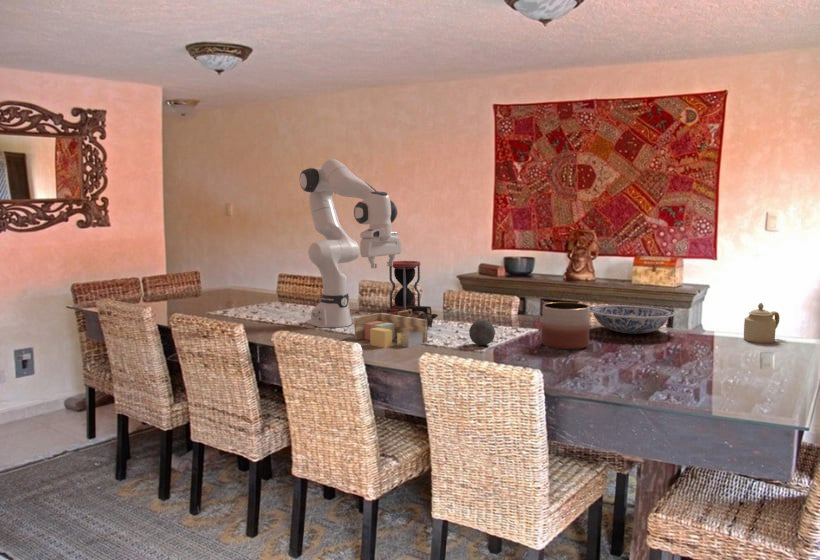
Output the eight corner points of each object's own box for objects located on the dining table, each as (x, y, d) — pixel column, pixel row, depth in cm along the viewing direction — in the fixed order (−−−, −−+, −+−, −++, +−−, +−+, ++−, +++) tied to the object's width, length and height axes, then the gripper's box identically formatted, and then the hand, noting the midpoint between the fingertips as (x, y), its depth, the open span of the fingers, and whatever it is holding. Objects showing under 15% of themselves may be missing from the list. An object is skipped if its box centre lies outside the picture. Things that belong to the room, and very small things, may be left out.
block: (397, 345, 259) (397, 333, 258) (411, 342, 265) (411, 329, 264) (408, 347, 255) (408, 335, 254) (422, 344, 261) (422, 331, 260)
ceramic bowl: (686, 331, 279) (687, 308, 278) (652, 345, 254) (653, 319, 253) (610, 322, 303) (611, 300, 301) (572, 333, 278) (573, 310, 276)
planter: (562, 352, 244) (563, 310, 242) (532, 343, 259) (532, 304, 258) (598, 347, 252) (599, 306, 250) (567, 339, 268) (568, 300, 266)
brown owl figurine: (409, 305, 301) (449, 305, 282) (410, 329, 301) (451, 330, 283) (385, 308, 290) (425, 308, 272) (386, 332, 291) (426, 334, 273)
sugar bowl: (749, 334, 273) (751, 298, 271) (779, 337, 266) (781, 301, 264) (740, 340, 261) (742, 303, 259) (771, 344, 254) (774, 305, 252)
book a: (364, 339, 271) (364, 323, 270) (378, 335, 277) (378, 320, 276) (371, 340, 269) (371, 324, 268) (385, 337, 274) (384, 321, 274)
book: (385, 348, 254) (384, 331, 254) (370, 345, 260) (370, 328, 259) (392, 346, 257) (392, 329, 257) (377, 343, 263) (377, 327, 262)
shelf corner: (354, 339, 270) (354, 317, 269) (380, 333, 281) (380, 312, 280) (401, 348, 253) (401, 325, 251) (427, 342, 264) (427, 319, 263)
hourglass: (420, 313, 330) (420, 263, 327) (388, 313, 330) (387, 263, 327) (420, 307, 346) (420, 260, 343) (390, 308, 346) (389, 260, 343)
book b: (374, 340, 268) (373, 325, 267) (387, 337, 273) (387, 322, 273) (381, 342, 265) (380, 326, 264) (394, 339, 271) (394, 323, 270)
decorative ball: (464, 343, 260) (464, 318, 259) (486, 341, 264) (486, 316, 263) (477, 349, 251) (477, 323, 250) (499, 346, 255) (499, 321, 254)
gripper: (392, 231, 272) (394, 265, 273) (357, 233, 257) (358, 269, 258) (404, 231, 268) (405, 265, 269) (368, 233, 252) (369, 269, 254)
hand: (382, 267), depth 263 cm, fingers open, 8 cm apart
